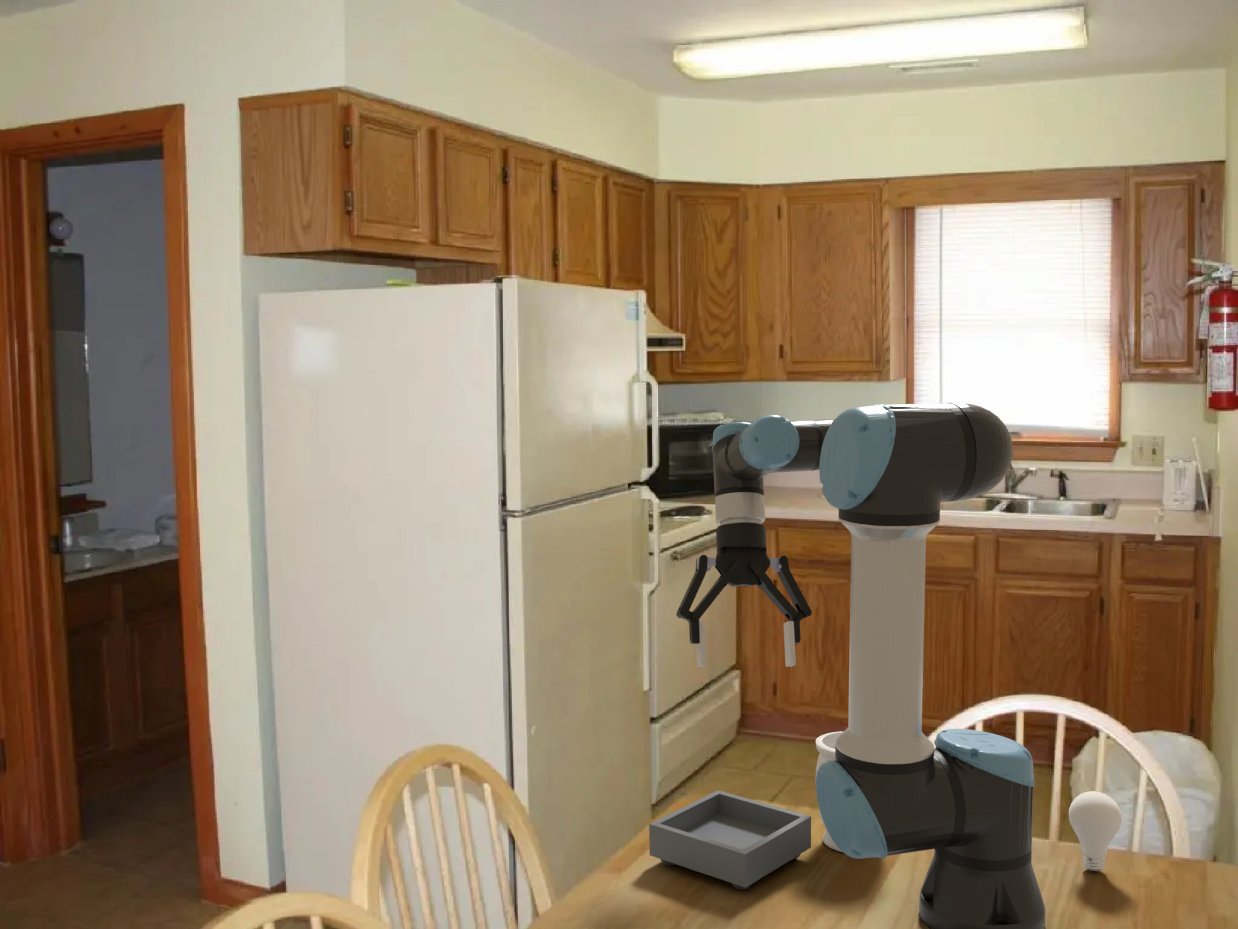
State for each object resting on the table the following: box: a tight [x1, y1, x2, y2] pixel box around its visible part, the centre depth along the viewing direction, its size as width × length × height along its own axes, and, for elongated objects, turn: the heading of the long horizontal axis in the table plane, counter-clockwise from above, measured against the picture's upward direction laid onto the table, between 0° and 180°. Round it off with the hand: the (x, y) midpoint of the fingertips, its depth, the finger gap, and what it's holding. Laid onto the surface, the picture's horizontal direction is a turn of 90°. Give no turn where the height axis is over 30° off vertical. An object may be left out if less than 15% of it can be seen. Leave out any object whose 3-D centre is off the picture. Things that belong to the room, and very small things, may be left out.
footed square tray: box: [648, 789, 812, 891], centre depth 174 cm, size 16×16×6 cm
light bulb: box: [1068, 790, 1122, 873], centre depth 170 cm, size 7×7×11 cm
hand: (746, 666), depth 186 cm, fingers open, 13 cm apart
